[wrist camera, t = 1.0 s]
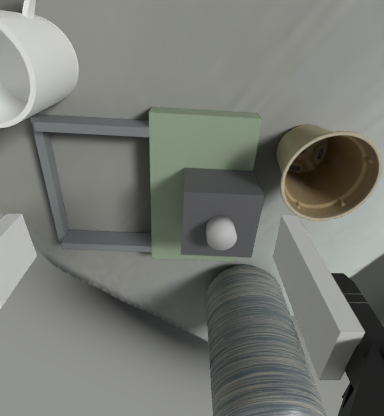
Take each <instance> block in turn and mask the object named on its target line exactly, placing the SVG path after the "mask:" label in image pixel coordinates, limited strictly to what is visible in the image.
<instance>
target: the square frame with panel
mask: <svg viewBox="0 0 384 416" xmlns="http://www.w3.org/2000/svg"><path fill="white" fill-rule="evenodd" d="M30 120H31V124H32V128H33V132H34V137H35V141H36V145H37V150H38V154H39V158H40V162H41V167H42V171H43V175H44V180H45V184H46V188H47V192H48V197H49V201H50V205H51V210H52V214H53V218H54V222H55V227H56V231H57V235H58V239H59V242H61V246H62V249H79V250H105V251H130V252H151V251H152V258H159V259H185V260H211V261H237V257H251V256H252V252H253V247H254V242H255V238H256V233H257V228H258V224H259V219H260V215H261V210H262V205H263V201H264V193H263V191H262V189H261V187H260V185H259V183H258V181H257V178H256V176H255V174H254V172H253V168H254V163H255V157H256V152H257V146H258V141H259V135H260V130H261V124H262V118H261V116H260V115H259V114H258V113H245V112H227V111H210V110H193V109H175V108H158V107H151V109H150V111H149V121H148V120H130V119H112V118H94V117H76V116H59V115H41V114H36V115H34V116H32V117H30ZM49 132H59V133H78V134H97V135H115V136H134V137H149V144H150V148H149V154H150V201H151V233H133V232H109V231H85V230H69V228H68V223H67V218H66V213H65V208H64V203H63V198H62V193H61V189H60V184H59V179H58V174H57V169H56V164H55V159H54V154H53V150H52V145H51V140H50V135H49Z"/></svg>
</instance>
